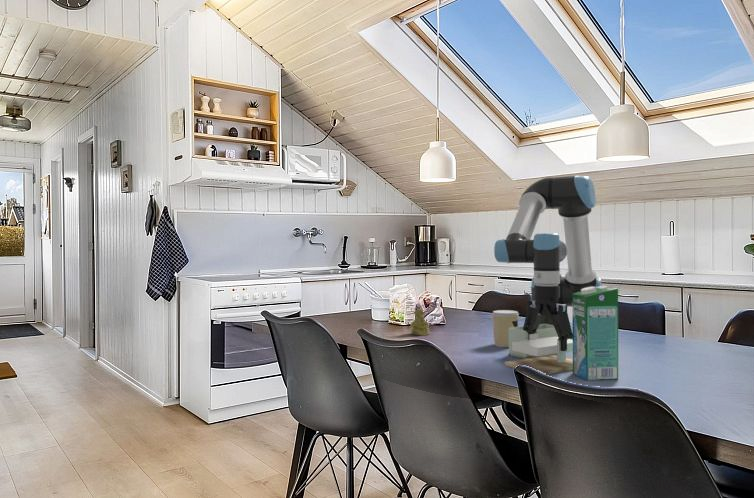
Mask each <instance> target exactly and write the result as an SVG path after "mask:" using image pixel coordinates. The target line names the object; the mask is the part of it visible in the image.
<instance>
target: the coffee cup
mask: <svg viewBox="0 0 754 498" xmlns="http://www.w3.org/2000/svg"><path fill="white" fill-rule="evenodd" d="M491 315H492V326H493V340H494V342H493V343H494V345H495V346H496V347H500V348H509V328H512V327H519V315H520V313H519V312H518V311H517V310H512V309H511V310H510V309H498V310H493V311H492V314H491Z"/></svg>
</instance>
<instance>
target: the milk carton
mask: <svg viewBox="0 0 754 498" xmlns="http://www.w3.org/2000/svg"><path fill="white" fill-rule="evenodd" d="M571 313H572V334H573V338H572V340H573V351H572V359H573V370H572V374H574V375H576V376H578V377H580V378H581V377H582V379H583V378H584V380H585V379H586V380H585V381H587V380H588V381H594V380H593V379H617V380H619V288H618V287H613V286H608V285H603V284H601V286H598V287H594V286H592V287H586V288H583V289H581V291H580V292H577V293H573V294H572V312H571Z"/></svg>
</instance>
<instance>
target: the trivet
mask: <svg viewBox="0 0 754 498" xmlns="http://www.w3.org/2000/svg"><path fill="white" fill-rule="evenodd" d="M518 365H526V366H529V367H532V368H534V369H536V370H539V371H541V372H543V373H546V375H551V374H556V373H557V374H558V373H563V372H569V371H573V358H569V357H566V361H565V362H557V355H548V356H541V357H534V358H528V359H522V358H520V359H517V360H516V359H515V360H509V361H504V366H506V367H510V368H512V369H515V368H514V367H516V366H518Z"/></svg>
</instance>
